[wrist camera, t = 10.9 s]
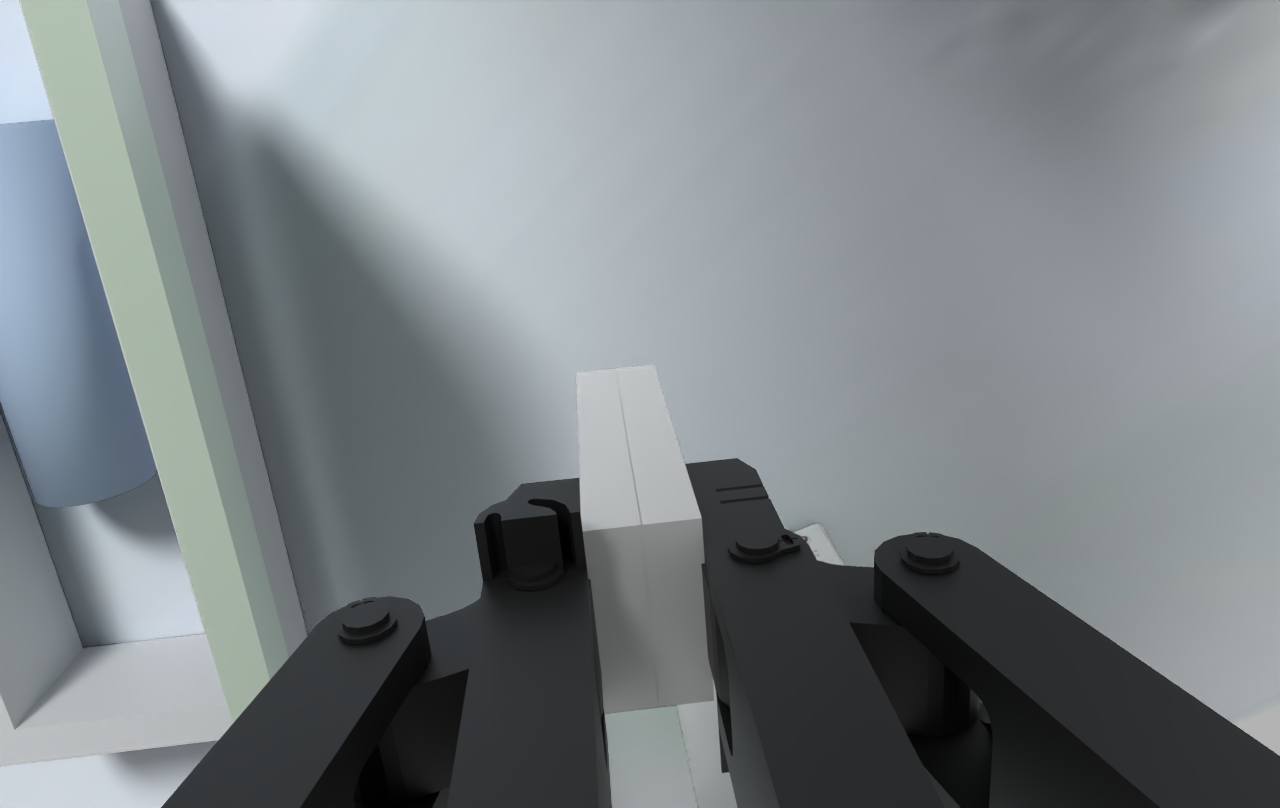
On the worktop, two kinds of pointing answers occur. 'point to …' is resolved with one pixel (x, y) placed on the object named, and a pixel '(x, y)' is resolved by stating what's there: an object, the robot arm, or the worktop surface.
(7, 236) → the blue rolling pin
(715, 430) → the worktop surface
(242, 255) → the worktop surface
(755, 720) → the robot arm
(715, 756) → the skincare box
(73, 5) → the cover
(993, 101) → the worktop surface
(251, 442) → the white u-shaped channel
